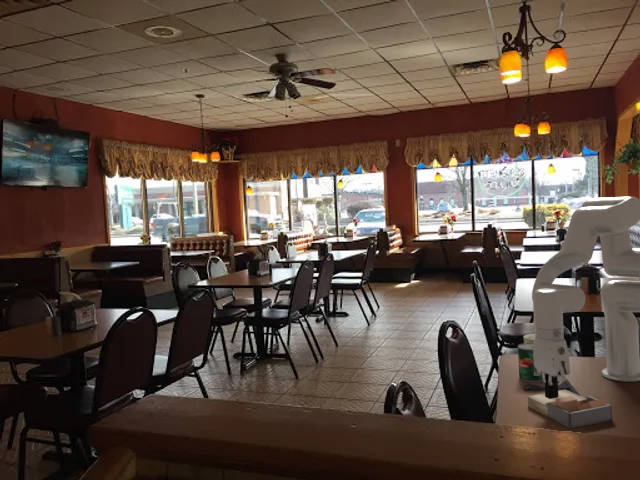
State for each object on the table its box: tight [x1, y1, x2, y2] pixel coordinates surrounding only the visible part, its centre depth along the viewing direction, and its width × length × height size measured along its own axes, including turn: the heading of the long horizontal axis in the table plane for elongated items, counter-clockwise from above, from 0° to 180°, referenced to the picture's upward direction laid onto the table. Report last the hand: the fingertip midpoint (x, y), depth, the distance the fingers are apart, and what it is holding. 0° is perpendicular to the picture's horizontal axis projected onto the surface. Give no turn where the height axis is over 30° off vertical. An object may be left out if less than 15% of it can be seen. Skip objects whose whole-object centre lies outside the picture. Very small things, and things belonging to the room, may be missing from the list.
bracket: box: [523, 378, 581, 396], centre depth 172 cm, size 14×15×3 cm
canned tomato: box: [517, 342, 543, 383], centre depth 183 cm, size 8×8×11 cm
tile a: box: [578, 398, 608, 411], centre depth 148 cm, size 5×5×2 cm
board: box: [527, 390, 587, 418], centre depth 157 cm, size 13×9×3 cm
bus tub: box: [547, 395, 613, 429], centre depth 148 cm, size 14×8×4 cm, turn 106°
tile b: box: [555, 396, 577, 413], centre depth 149 cm, size 5×5×2 cm
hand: (551, 397), depth 154 cm, fingers closed
